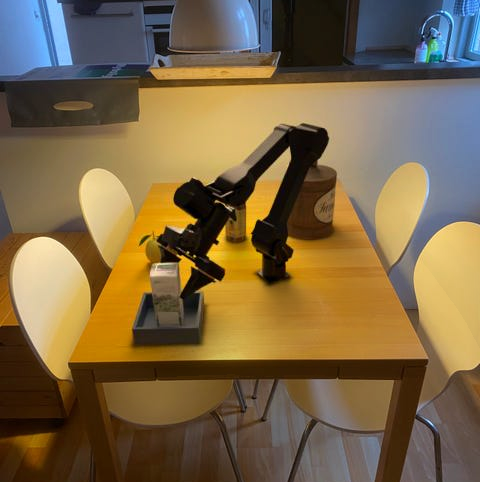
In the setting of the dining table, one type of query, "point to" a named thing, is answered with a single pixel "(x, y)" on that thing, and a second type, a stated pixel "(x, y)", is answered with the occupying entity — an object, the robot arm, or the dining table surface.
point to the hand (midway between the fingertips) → (169, 289)
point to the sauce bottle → (236, 224)
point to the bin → (151, 334)
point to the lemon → (152, 248)
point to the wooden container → (314, 204)
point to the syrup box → (167, 294)
